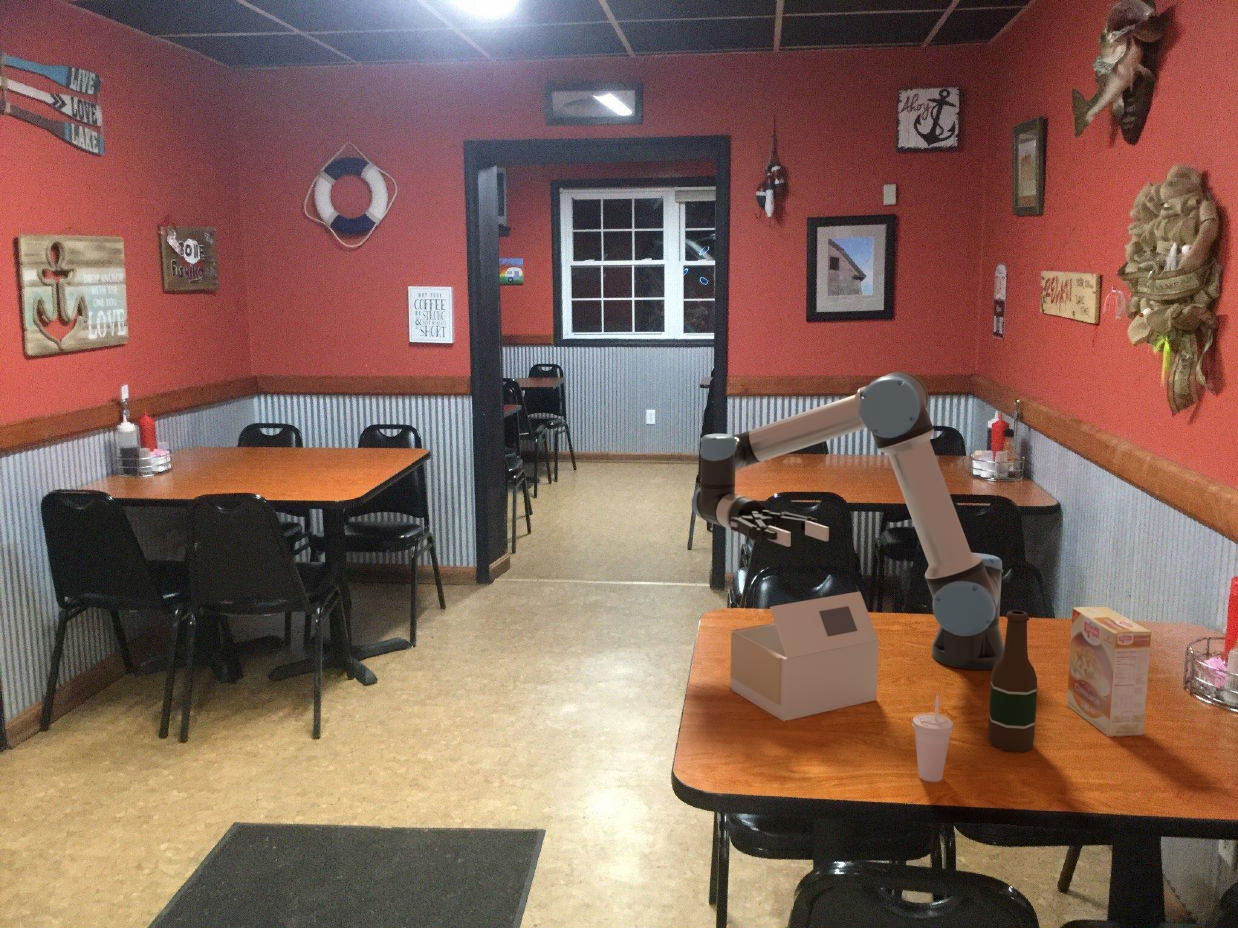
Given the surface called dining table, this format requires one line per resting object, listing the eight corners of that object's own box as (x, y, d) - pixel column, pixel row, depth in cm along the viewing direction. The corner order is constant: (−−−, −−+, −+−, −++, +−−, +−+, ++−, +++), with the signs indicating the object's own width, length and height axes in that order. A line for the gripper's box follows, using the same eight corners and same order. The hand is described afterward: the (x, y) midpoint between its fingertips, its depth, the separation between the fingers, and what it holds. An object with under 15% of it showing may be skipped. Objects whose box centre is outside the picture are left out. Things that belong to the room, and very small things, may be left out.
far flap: (769, 607, 200) (771, 606, 199) (858, 592, 209) (860, 591, 208) (786, 658, 196) (788, 657, 195) (876, 640, 205) (878, 639, 205)
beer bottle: (1028, 757, 182) (1037, 621, 178) (982, 747, 186) (989, 614, 182) (1038, 740, 189) (1046, 609, 185) (992, 731, 193) (999, 602, 189)
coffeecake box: (1064, 704, 205) (1071, 606, 201) (1100, 703, 205) (1107, 605, 202) (1106, 737, 190) (1114, 632, 187) (1145, 735, 191) (1153, 630, 187)
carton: (726, 688, 214) (726, 631, 212) (819, 669, 224) (821, 614, 222) (780, 721, 197) (782, 659, 195) (878, 699, 208) (881, 640, 206)
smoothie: (955, 785, 172) (959, 703, 170) (915, 785, 172) (919, 703, 170) (944, 767, 178) (948, 688, 176) (905, 767, 178) (909, 688, 176)
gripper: (783, 526, 230) (851, 549, 210) (699, 537, 220) (762, 562, 201) (783, 492, 229) (852, 512, 209) (699, 502, 219) (762, 523, 199)
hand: (808, 536), depth 205 cm, fingers open, 8 cm apart
